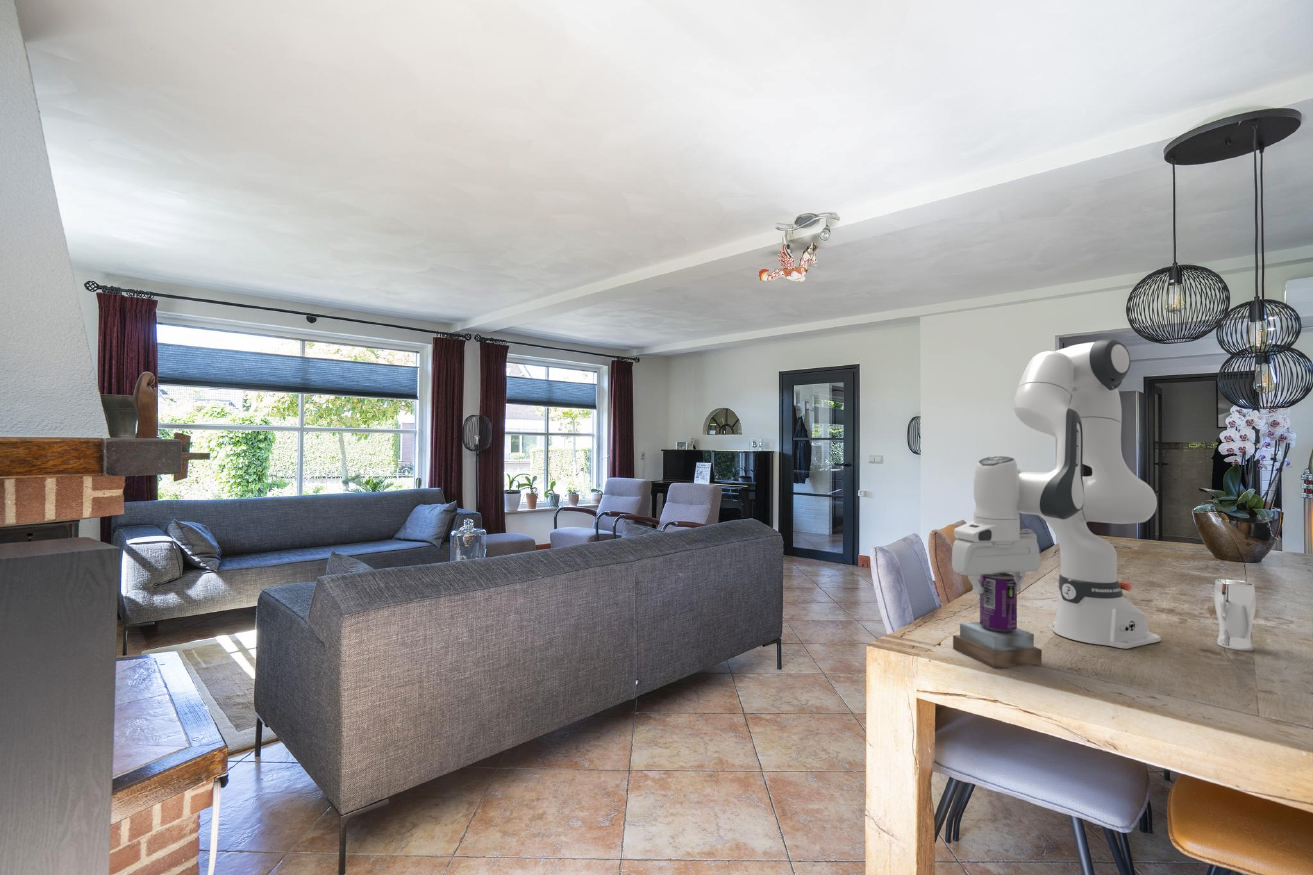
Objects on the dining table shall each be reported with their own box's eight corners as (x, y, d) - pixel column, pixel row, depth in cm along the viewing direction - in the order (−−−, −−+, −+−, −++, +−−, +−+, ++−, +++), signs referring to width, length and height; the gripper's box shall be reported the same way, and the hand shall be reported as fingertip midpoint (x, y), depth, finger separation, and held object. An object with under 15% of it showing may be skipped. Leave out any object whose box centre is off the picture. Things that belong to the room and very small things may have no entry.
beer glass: (1247, 644, 140) (1247, 580, 140) (1262, 653, 133) (1261, 586, 134) (1208, 639, 143) (1208, 577, 143) (1221, 648, 136) (1221, 583, 136)
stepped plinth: (997, 644, 138) (997, 619, 138) (1041, 663, 126) (1041, 635, 126) (953, 648, 135) (953, 622, 135) (993, 667, 124) (993, 639, 124)
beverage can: (1022, 635, 126) (1022, 578, 126) (985, 632, 128) (985, 576, 128) (1010, 625, 133) (1010, 571, 133) (975, 622, 135) (975, 570, 135)
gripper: (1024, 526, 136) (1024, 586, 136) (947, 529, 132) (947, 591, 132) (1047, 530, 130) (1048, 593, 130) (967, 534, 126) (968, 599, 126)
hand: (996, 592), depth 131 cm, fingers open, 8 cm apart
